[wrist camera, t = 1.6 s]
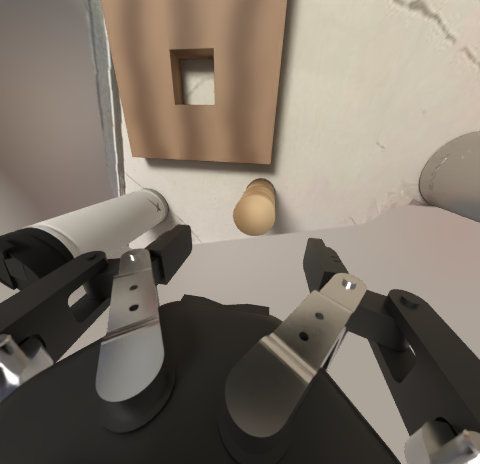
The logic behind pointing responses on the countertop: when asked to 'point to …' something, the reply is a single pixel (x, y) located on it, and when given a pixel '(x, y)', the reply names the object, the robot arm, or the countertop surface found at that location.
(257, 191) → the oak peg
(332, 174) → the countertop surface
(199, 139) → the walnut board
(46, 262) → the travel mug
